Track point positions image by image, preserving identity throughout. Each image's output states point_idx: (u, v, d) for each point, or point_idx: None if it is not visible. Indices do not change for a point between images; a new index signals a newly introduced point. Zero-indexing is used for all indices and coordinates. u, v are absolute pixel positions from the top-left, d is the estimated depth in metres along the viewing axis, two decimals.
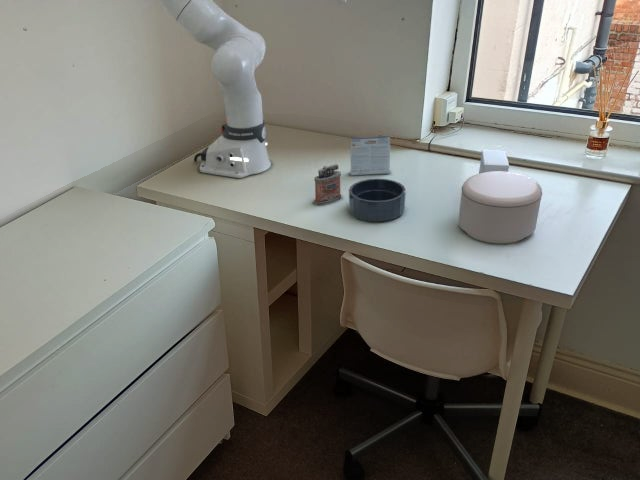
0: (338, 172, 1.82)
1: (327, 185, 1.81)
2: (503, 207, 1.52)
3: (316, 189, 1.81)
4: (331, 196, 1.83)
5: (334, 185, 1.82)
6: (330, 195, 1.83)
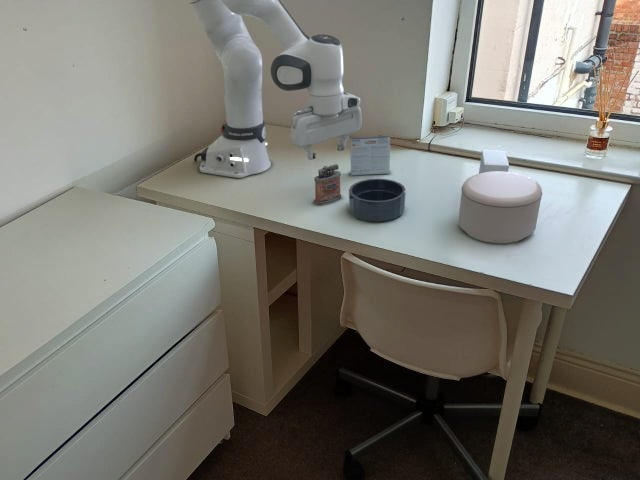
0: (338, 172, 1.82)
1: (327, 185, 1.81)
2: (503, 207, 1.52)
3: (316, 189, 1.81)
4: (331, 196, 1.83)
5: (334, 185, 1.82)
6: (330, 195, 1.83)
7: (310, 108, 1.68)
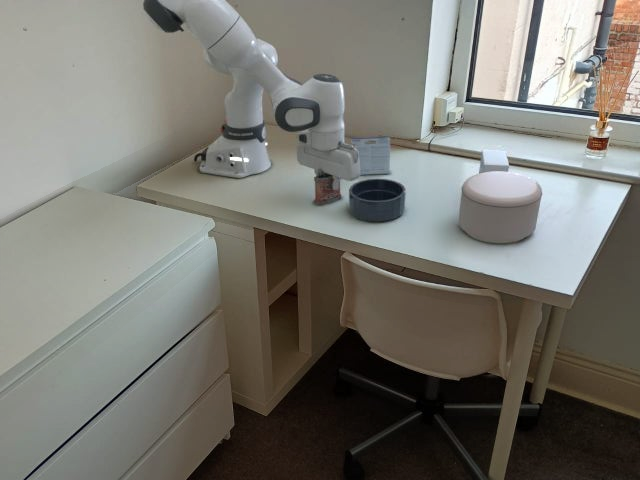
0: None
1: (327, 185, 1.81)
2: (503, 207, 1.52)
3: (316, 189, 1.82)
4: (331, 195, 1.83)
5: None
6: (330, 195, 1.83)
7: None
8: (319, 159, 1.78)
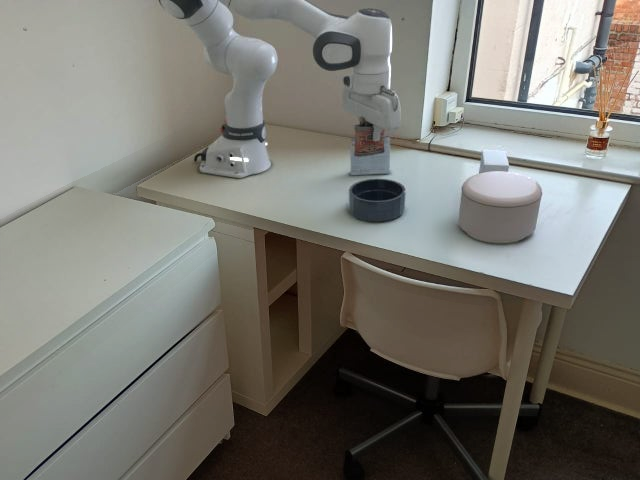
0: None
1: (368, 135, 1.66)
2: (503, 207, 1.52)
3: (355, 138, 1.67)
4: (372, 148, 1.68)
5: None
6: (370, 147, 1.68)
7: None
8: (361, 105, 1.64)
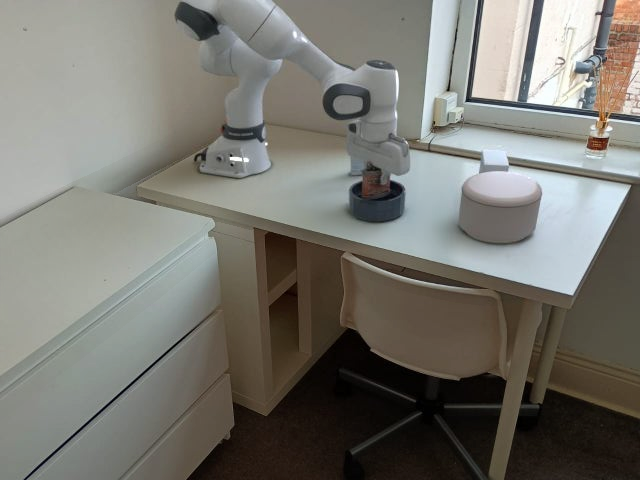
0: None
1: (375, 179, 1.71)
2: (503, 207, 1.52)
3: (363, 182, 1.72)
4: (379, 190, 1.73)
5: None
6: (377, 189, 1.73)
7: None
8: (368, 151, 1.69)
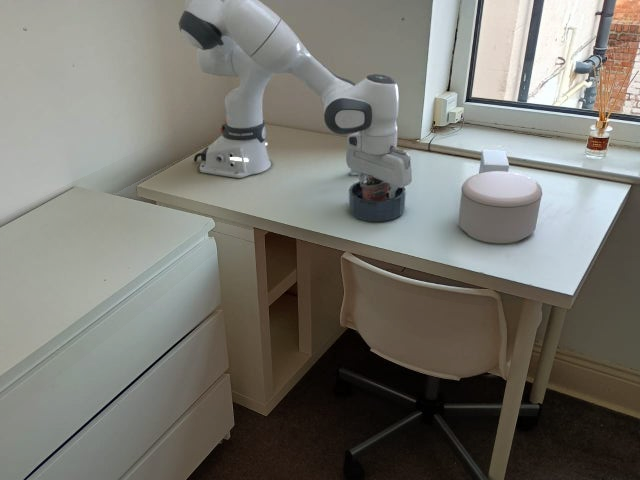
0: None
1: (375, 192, 1.73)
2: (503, 207, 1.52)
3: (363, 196, 1.74)
4: None
5: (382, 193, 1.74)
6: None
7: None
8: (369, 163, 1.71)
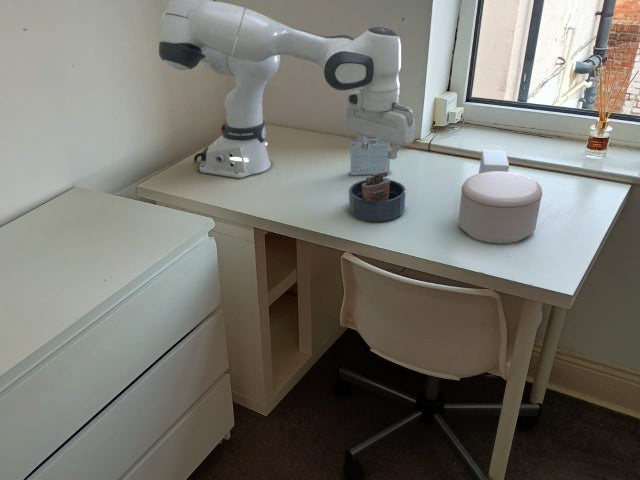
0: (387, 179, 1.74)
1: (375, 192, 1.73)
2: (503, 207, 1.52)
3: (363, 196, 1.74)
4: None
5: (382, 193, 1.74)
6: None
7: None
8: (370, 122, 1.65)
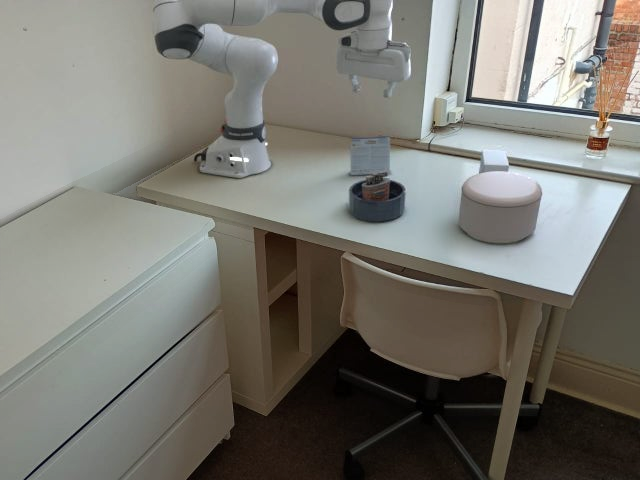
0: (387, 179, 1.74)
1: (375, 192, 1.73)
2: (503, 207, 1.52)
3: (363, 196, 1.74)
4: None
5: (382, 193, 1.74)
6: None
7: None
8: (364, 63, 1.69)
